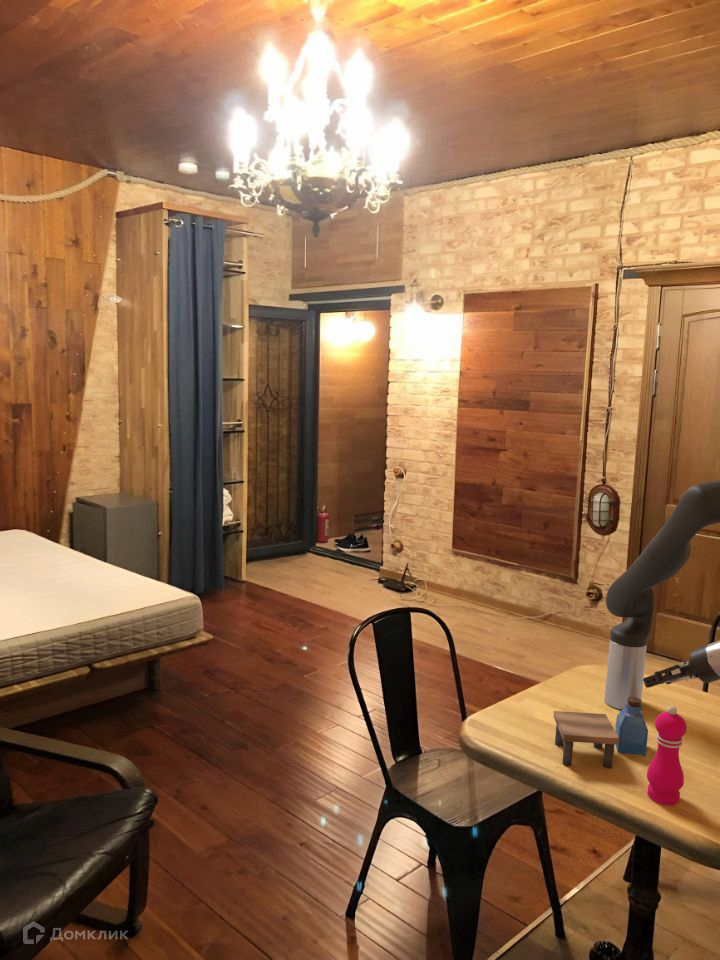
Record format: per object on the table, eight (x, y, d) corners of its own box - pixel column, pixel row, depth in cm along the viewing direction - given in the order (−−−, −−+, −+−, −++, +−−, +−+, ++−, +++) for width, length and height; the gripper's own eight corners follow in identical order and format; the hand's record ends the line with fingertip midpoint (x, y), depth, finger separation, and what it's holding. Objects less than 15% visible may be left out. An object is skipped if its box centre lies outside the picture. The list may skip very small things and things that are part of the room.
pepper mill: (662, 809, 158) (672, 716, 155) (637, 791, 165) (646, 701, 162) (689, 803, 161) (699, 711, 158) (663, 785, 168) (672, 697, 165)
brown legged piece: (551, 740, 186) (554, 710, 185) (602, 744, 185) (605, 714, 184) (561, 766, 174) (564, 734, 173) (616, 770, 173) (619, 738, 172)
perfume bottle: (645, 756, 180) (650, 707, 179) (617, 752, 182) (622, 703, 180) (641, 743, 186) (646, 695, 185) (614, 740, 188) (619, 692, 186)
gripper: (727, 641, 174) (665, 663, 185) (695, 645, 165) (631, 667, 176) (741, 674, 171) (677, 695, 182) (710, 680, 162) (644, 701, 173)
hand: (655, 681), depth 179 cm, fingers open, 8 cm apart
